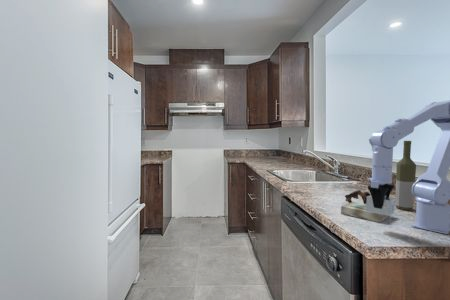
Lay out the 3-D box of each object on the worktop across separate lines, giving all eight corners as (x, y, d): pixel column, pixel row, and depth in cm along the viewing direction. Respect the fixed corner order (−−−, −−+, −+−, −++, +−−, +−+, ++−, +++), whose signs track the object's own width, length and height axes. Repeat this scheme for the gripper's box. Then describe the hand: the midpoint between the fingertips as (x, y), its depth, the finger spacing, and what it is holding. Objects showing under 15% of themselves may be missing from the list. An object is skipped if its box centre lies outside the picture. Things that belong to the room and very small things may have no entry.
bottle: (417, 211, 109) (421, 141, 108) (398, 210, 110) (402, 140, 109) (408, 207, 116) (412, 140, 115) (391, 206, 117) (394, 140, 116)
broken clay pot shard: (362, 211, 110) (352, 193, 112) (347, 215, 118) (338, 198, 121) (380, 201, 115) (371, 184, 117) (365, 206, 123) (356, 190, 125)
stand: (389, 216, 102) (389, 207, 101) (379, 222, 93) (380, 213, 93) (352, 208, 112) (352, 201, 112) (340, 213, 104) (341, 205, 103)
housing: (393, 213, 85) (394, 195, 85) (389, 216, 82) (390, 197, 82) (370, 208, 90) (371, 192, 90) (366, 211, 87) (366, 193, 87)
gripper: (375, 164, 93) (374, 201, 94) (361, 166, 83) (359, 207, 84) (398, 165, 88) (396, 204, 89) (385, 168, 78) (383, 212, 79)
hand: (380, 206), depth 86 cm, fingers closed on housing, 4 cm apart
